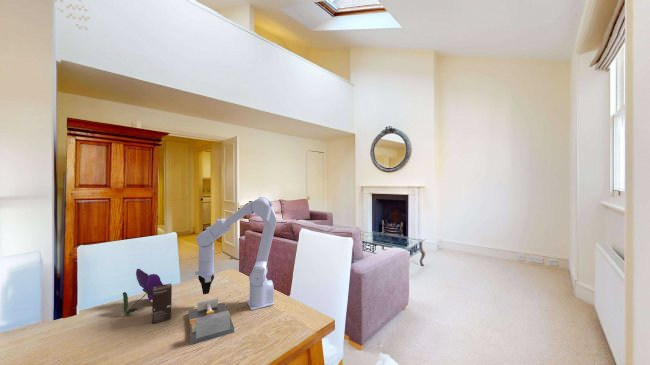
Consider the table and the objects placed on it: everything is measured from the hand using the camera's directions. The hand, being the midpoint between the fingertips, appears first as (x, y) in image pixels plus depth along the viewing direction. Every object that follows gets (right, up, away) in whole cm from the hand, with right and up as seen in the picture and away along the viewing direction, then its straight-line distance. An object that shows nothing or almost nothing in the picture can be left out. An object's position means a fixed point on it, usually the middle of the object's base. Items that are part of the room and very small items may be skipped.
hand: (205, 293), depth 103 cm
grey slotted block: (+5, -3, -8) cm, 10 cm away
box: (-12, -5, -10) cm, 16 cm away
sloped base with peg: (+7, -6, -11) cm, 14 cm away
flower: (-24, -5, -2) cm, 25 cm away
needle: (+5, -4, -14) cm, 15 cm away
